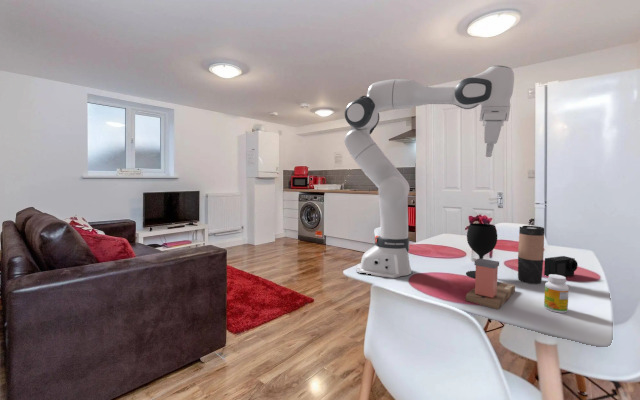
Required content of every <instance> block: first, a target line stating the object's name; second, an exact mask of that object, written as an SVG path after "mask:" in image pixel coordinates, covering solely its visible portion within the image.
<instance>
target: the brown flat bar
mask: <svg viewBox="0 0 640 400" xmlns="http://www.w3.org/2000/svg"><path fill="white" fill-rule="evenodd" d="M515 292H516V285H515V284H510V283H505V282H501V281H497V294H496V295H495V296H494V297H493V298H491V297H487V296H483V295H479V294H475V287H474V288H472V289H471V290H470V291H469V292H466V294H465V301H466V302H468V301H470V302H469V303H472V302H474V303H473V304H476V303H478V304H477V305H479V304H481V305H480V306H483V305H484V307H488V308H490V309H491V308H492V309H494V310H500V308H501V307H502V306H503V305H504V304H505V303H506V302H507V300H508V299H510V297H511V296H512V295H513V294H514V293H515Z"/></svg>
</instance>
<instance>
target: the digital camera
mask: <svg viewBox="0 0 640 400" xmlns="http://www.w3.org/2000/svg"><path fill="white" fill-rule="evenodd" d="M578 266H579V265H578V261H577V260H576V259H575V258H573V257H570V256H565V255H560V256H554V257H553V256H552V257H545V258H544V266H543V267H544V268H543V270H544V272H543V275H544V276H545V275H546V276H545V277H548V276H549V275H550V274H555V275H561V276H564V277H566V276H569V277H573V276H572V275H574V276H575V271H576V270H577V269H578ZM566 278H567V277H566Z"/></svg>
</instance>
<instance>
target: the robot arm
mask: <svg viewBox="0 0 640 400" xmlns="http://www.w3.org/2000/svg"><path fill="white" fill-rule="evenodd" d="M514 84H515V73H514V70H513V69H512V68H511V67H509V66H505V65H493V66H489V67H488V68H487V69H485V70H484V71H482V72H480V73H478V74H475V75H472V76H470V77H466V78H463V79H462V80H460V81H459V83H457V85H456V86H447V87H446V86H443V87H442V86H441V87H440V86H436V87H434V86H433V87H432V86H428V85H424V84H421V83H420V82H419V81H416V80H414V79H413V80H412V79H407V78H406V79H405V78H397V79H394V78H393V79H386V80H381V81H380V80H379V81H376V82H373V83H371V84H370V85H369V87H368V89H367V93H366V95H362V96H360V97H359V98H357V99H354V100H353V101H351V102H350V103H348V104H347V105H346V107H345V110H344V118H345V121H346V122H347V124H348V125H349V126H350V127H351V128H350V130H349V131H348V132H347V133H346V135H345V136H344V139H343V143H344V145H345V148H346V150H347V151H348V153H349V155H351V158H352V159H353V160H354V162H355V163H356V164H357V165H358V167H359V168H360V170H361V171H362V172H363V173H364V175H365V176H366V177H367V178H368V179H369V180H370V181H371V182H372V183H373V184H374V185H375V187H376V188H378V189H377V192H378V205H379V206H378V207H379V209H378V210H379V219H380V221H379V222H380V223H379V224H380V225H379V227H380V230H379V233H380V234H379V235H375V237H374V244H375V245H374V246H372V247H371V248H369V249H368V250H366V251H365V252H364V253H363V254H362V257H361V260H360V261H361V262H360V263H358V264H357V265H358V266H357V265H356V266H355V271H356V270H357V271H358V272H361V273H366V274H365V275H368V274H371V275H370V276H376V277H383V278H389V279H391V278H392V279H397V278H399V277H406V276H409V275H410V274H412V268H411V264H410V255H409V252H410V238H409V207H408V206H409V205H408V203H409V201H408V200H409V199H408V198H409V197H408V196H409V194H410V191H411V190H410V189H411V187H410V184H409V182H408V180H407V179H406V177H404V175H402V174H401V172H400V171H399V169H397V168H396V166H395V165H394V164H393V163H392V162H391V160H390V159H389V158H388V156H386V155H385V153H384V152H383V151H382V149H381V147H379V146H378V144H377V143H376V142H375V140H374V139H373V137H372V136H371V134H372V133H373V131H374V130H375V128H376V127H377V126H378V124H379V122H380V114H379V112H381V111H384V110H402V109H403V110H405V109H410V108H415V107H420V106H426V105H453V106H456V107H458V108H461V109H464V110H472V109H475V108H477V107H478V106H479V105H481V106H480V107H481V108H480V113H479V121H480V122H483V123H482V127H484V129H483V130H484V132H483V134H484V141H483V142H484V144H486V147H485V148H486V150H485V157H486V158H491V157H492V155H493V150H494V145H495V144H497V143H498V140H499V139H500V138H499V137H500V134H501V130H502V127H503V126H504V124H505V122H508V121H509V118H510V111H511V98H512V96H513V91H514V86H515V85H514ZM358 269H359V270H358Z"/></svg>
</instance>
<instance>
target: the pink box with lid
mask: <svg viewBox="0 0 640 400" xmlns="http://www.w3.org/2000/svg"><path fill="white" fill-rule="evenodd" d="M474 266H475V271H476V276H475V278H474V279H475V280H474V283H475V284H474V285H475V286H474V288H475V294H479V295H483V296H487V297H491V298H493V297H494V296H495V295H496V294H497V282H498V273H499V272H498V269H499V266H500V261H498V260H492V259H486V258H485V259H484V258H483V259H480V258H477V259H476V260H474Z"/></svg>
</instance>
